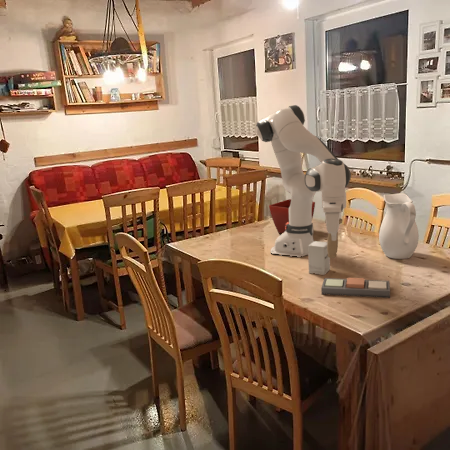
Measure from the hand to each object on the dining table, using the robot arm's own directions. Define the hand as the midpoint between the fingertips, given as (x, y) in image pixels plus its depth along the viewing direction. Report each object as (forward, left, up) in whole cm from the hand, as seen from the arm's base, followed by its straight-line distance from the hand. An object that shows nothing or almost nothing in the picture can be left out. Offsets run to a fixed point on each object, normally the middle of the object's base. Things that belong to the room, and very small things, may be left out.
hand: (334, 238), depth 176 cm
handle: (-1, 0, -8) cm, 8 cm away
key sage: (0, 0, -20) cm, 20 cm away
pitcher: (+26, +40, -21) cm, 52 cm away
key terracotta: (+8, 0, -19) cm, 21 cm away
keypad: (+8, 0, -21) cm, 22 cm away
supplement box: (-8, +19, -21) cm, 30 cm away
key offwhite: (+16, 0, -20) cm, 25 cm away
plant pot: (-30, +80, -21) cm, 88 cm away
